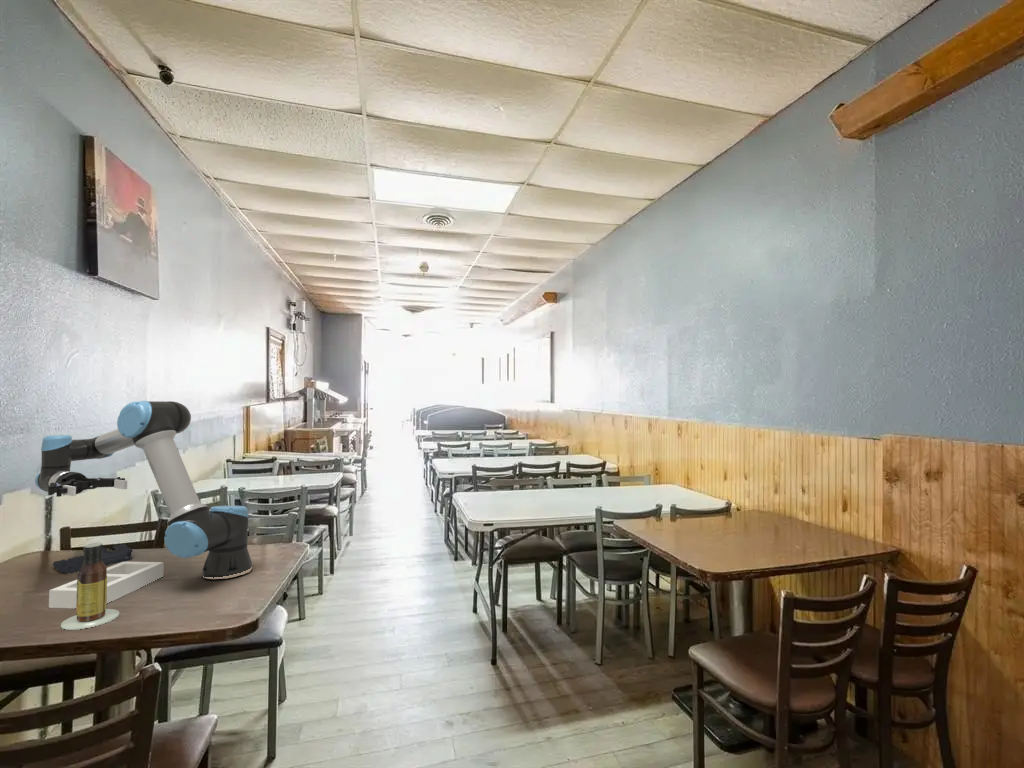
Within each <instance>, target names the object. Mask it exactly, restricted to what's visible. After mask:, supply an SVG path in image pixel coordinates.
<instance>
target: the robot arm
mask: <svg viewBox="0 0 1024 768" xmlns="http://www.w3.org/2000/svg"><path fill="white" fill-rule="evenodd" d="M191 415H192V414H191V413H190V410H189V408H188V407H187V406H185V405H184V404H182V403H180V402H177V401H163V400H162V401H159V400H158V401H150V400H149V401H148V400H141V401H132V402H129V403H127V404H126V405H125V406H123V408H122V409H121V410H120V412H119V415H118V416H117V421H116V423H117V424H116V425H117V426H116V427H117V429H114V430H112V431H110V432H107V433H104V434H100V435H99V436H96V437H93V438H87V439H86V438H85V439H73V438H72V436H71V435H70V434H69V435H68V434H59V435H58V434H57V435H56V434H55V435H46V436H44V437H43V438H42V441H41V448H40V450H41V466H40V472H39V473H38V474H37V475H36V477H35V480H34V484H35V485H36V487H37V488H38V489H40V490H42V491H43V492H47V495H48V496H52V495H54V494H56V496H55V497H58V498H60V497H62V496H70V497H76V496H77V495H79V494H80V493H82V492H83V491H85V490H86V491H87V490H95V489H97V488H115V489H121V490H127V489H128V480H126V478H125V477H120V476H117V477H115V478H114V477H112V478H111V477H108V478H106V477H105V478H104V477H97V478H96V477H94V478H89V477H87V476H86V475H84V473H82V472H81V473H80V472H77V471H76V472H75V471H71V466H72V462H76V461H77V462H78V461H84V460H85V461H87V460H95V459H96V460H97V459H104V458H105V459H106V458H109V457H112V456H113V454H115V453H116V452H119V451H122V450H125V449H127V448H131V447H133V446H135V447H136V448H139V449H141V450H143V453H144V454H145V457H146V460H147V463H148V464H149V467H150V469H151V472H152V474H153V477H154V479H155V482H156V483H157V487H158V489H159V492H160V493H161V496H162V497H163V500H164V503H165V505H166V508H167V510H168V513H169V515H170V516H169V518H168V520H167V521H166V522H167V523H166V524H167V525H168V527H167V528H166V529H165V531H164V532H165V533H164V535H165V536H164V544H165V547H166V548H167V550H168V551H169V552H170V553H171V554H172V555H174V556H175V557H177V558H178V557H179V558H182V559H187V558H191V557H197V556H200V555H201V554H204V553H206V552H208V554H207V557H206V560H205V562H204V565H203V567H202V571H201V576H202V575H203V576H204V577H213V578H214V577H223V576H229V575H233V574H237V573H241V572H243V571H246V570H248V569H250V568H251V567H252V568H253V561H252V559H251V555H250V552H249V548H248V535H249V509H248V508H247V507H246V506H245V505H244V506H243V505H216V506H211V507H210V508H209V506H208V505H207V504H203V503H201V501H200V499H199V497H198V494H197V492H196V490H195V489H196V488H195V487H194V484H193V483H192V480H191V477H190V475H189V473H188V471H187V467H186V465H185V463H184V461H183V459H182V457H181V454H180V451H179V450H178V447H177V444H176V442H175V440H174V439H175V437H176V435H178V434H180V433H182V432H184V431H185V430H187V428H188V427H189V426H190V424H191V420H192V416H191Z"/></svg>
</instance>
